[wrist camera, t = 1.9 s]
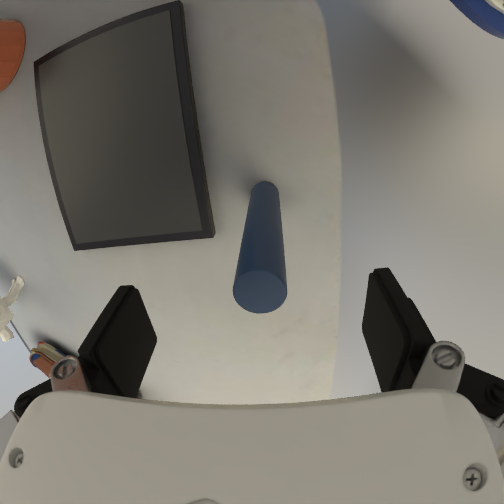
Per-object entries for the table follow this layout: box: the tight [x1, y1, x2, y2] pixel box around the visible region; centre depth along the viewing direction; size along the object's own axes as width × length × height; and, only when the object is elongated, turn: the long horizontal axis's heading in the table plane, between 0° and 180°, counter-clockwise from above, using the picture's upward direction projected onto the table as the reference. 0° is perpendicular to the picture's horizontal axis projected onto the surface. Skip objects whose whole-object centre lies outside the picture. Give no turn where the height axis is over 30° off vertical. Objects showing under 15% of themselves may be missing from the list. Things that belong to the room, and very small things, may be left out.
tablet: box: [34, 0, 215, 251], centre depth 20 cm, size 20×15×1 cm
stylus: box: [233, 182, 287, 313], centre depth 17 cm, size 2×2×13 cm
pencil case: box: [30, 342, 139, 399], centre depth 35 cm, size 11×20×5 cm, turn 46°
